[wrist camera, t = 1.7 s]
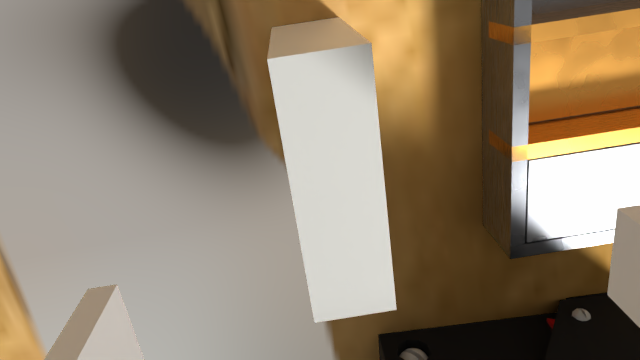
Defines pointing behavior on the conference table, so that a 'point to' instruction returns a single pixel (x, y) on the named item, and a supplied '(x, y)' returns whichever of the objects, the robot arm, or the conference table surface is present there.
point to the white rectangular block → (334, 165)
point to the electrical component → (527, 336)
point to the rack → (559, 121)
